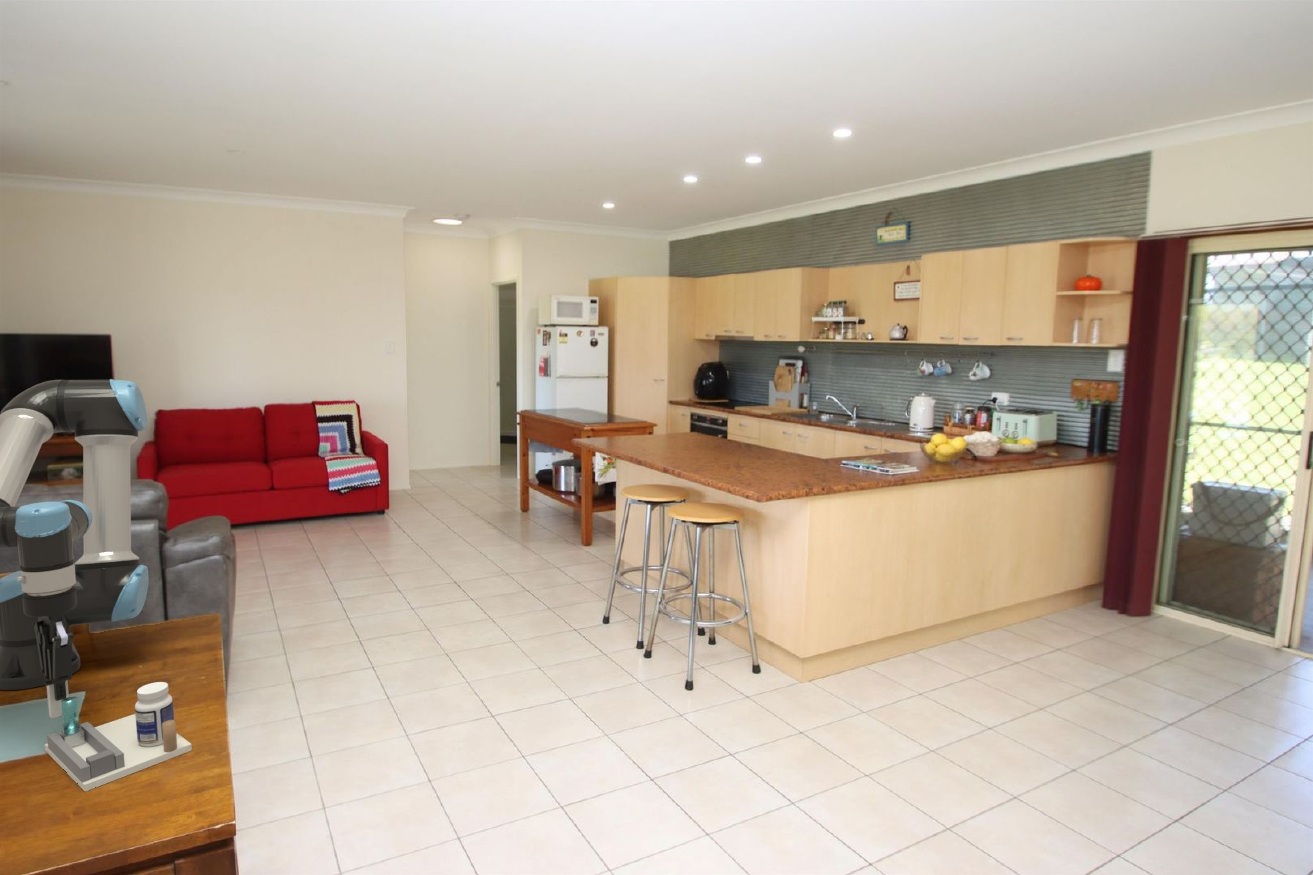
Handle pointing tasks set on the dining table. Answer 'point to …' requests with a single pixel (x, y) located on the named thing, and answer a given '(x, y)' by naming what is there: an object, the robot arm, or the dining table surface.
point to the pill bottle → (152, 713)
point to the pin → (71, 723)
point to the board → (113, 751)
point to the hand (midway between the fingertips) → (59, 714)
